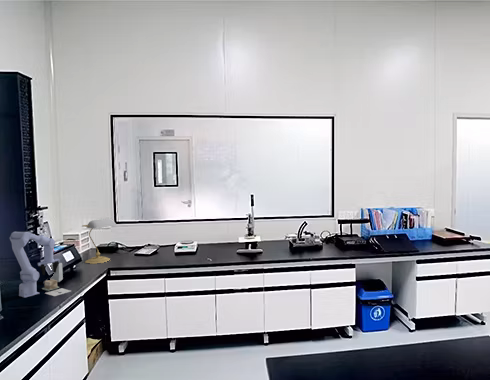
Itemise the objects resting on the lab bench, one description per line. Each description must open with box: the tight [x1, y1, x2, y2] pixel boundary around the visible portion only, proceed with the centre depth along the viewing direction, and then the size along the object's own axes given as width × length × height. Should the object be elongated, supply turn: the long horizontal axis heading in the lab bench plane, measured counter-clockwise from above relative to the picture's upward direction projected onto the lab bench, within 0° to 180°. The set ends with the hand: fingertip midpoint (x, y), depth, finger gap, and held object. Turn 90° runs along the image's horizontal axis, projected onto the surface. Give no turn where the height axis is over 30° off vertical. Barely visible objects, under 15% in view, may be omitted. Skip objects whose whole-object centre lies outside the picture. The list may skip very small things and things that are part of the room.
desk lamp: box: [82, 217, 117, 265], centre depth 318 cm, size 31×23×40 cm
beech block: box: [44, 279, 58, 291], centre depth 238 cm, size 5×7×5 cm
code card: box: [44, 288, 72, 297], centre depth 230 cm, size 12×12×1 cm
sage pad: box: [41, 285, 60, 292], centre depth 239 cm, size 8×8×1 cm
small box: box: [50, 262, 64, 283], centre depth 256 cm, size 8×6×13 cm
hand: (49, 273), depth 243 cm, fingers open, 7 cm apart
